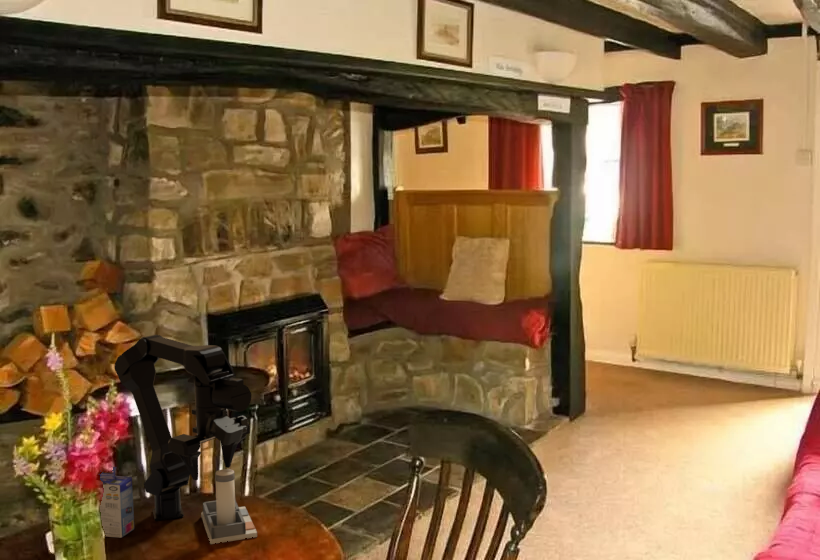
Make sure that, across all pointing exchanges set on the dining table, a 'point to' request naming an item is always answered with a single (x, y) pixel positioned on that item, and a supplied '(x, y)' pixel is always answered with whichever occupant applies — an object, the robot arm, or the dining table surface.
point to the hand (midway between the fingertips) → (211, 473)
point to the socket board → (229, 531)
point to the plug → (225, 497)
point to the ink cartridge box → (117, 504)
